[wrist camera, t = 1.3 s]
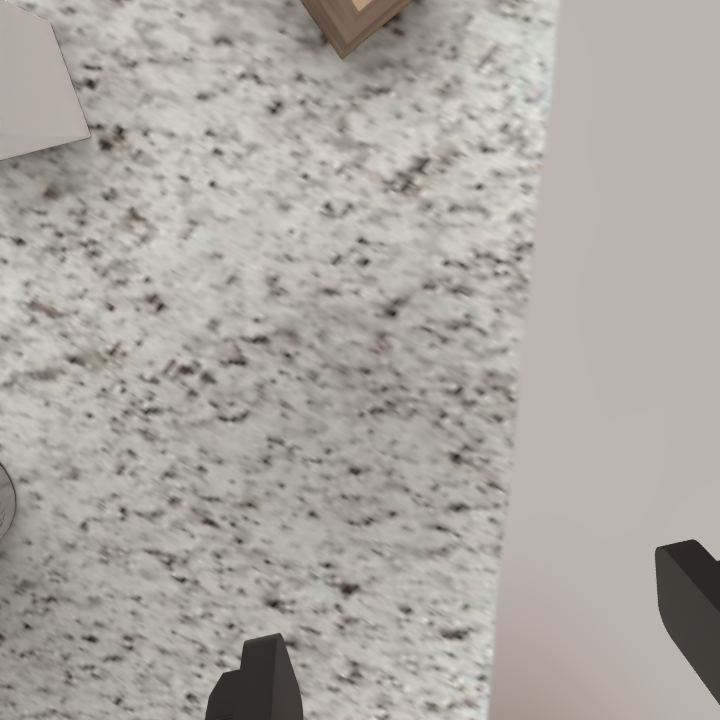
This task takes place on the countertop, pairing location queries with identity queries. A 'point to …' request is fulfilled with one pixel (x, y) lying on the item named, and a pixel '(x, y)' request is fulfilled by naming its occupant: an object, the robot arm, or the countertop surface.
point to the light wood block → (351, 19)
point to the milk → (34, 87)
